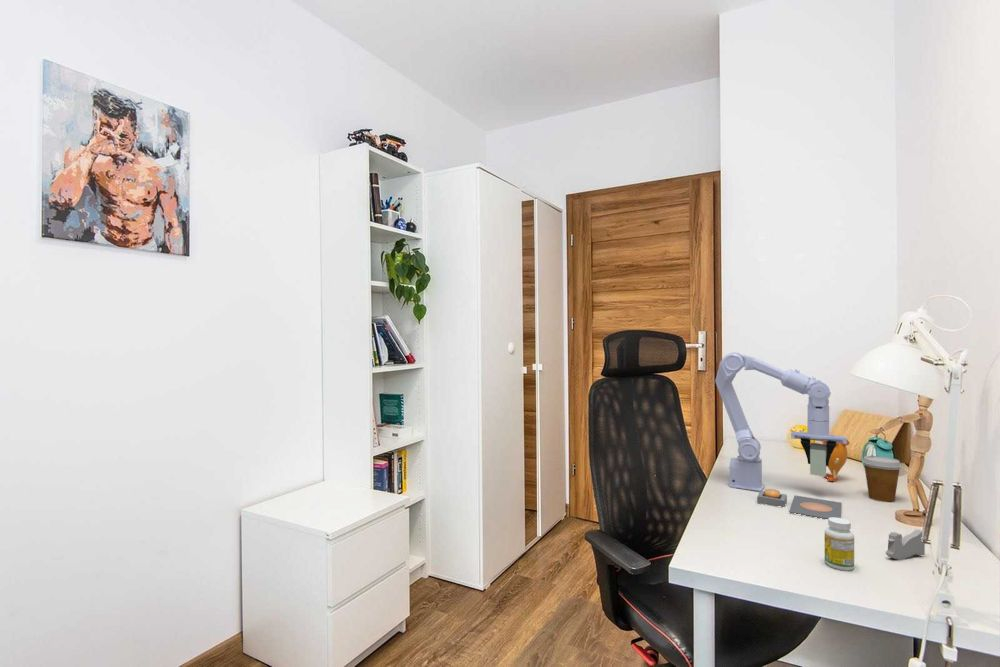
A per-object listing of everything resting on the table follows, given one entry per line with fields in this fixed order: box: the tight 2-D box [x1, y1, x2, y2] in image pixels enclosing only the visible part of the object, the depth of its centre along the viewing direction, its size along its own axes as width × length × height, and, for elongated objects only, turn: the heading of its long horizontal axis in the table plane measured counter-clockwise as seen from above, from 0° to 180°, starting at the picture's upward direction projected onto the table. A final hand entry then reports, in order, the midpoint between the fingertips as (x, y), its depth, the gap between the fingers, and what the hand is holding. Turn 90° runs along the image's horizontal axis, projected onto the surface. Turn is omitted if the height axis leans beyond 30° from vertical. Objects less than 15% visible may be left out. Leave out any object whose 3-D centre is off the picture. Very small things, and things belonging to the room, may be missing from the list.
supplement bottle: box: [824, 517, 855, 571], centre depth 109 cm, size 5×5×10 cm
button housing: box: [756, 490, 788, 508], centre depth 151 cm, size 7×7×2 cm
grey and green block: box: [809, 442, 827, 477], centre depth 157 cm, size 4×4×9 cm
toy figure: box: [821, 439, 850, 482], centre depth 175 cm, size 12×8×15 cm, turn 159°
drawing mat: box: [788, 494, 842, 520], centre depth 146 cm, size 12×18×1 cm, turn 146°
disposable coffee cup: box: [862, 455, 902, 503], centre depth 155 cm, size 10×10×12 cm
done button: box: [764, 488, 781, 499], centre depth 151 cm, size 4×4×2 cm
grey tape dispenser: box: [885, 529, 926, 561], centre depth 113 cm, size 6×1×10 cm
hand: (818, 464), depth 157 cm, fingers closed on grey and green block, 4 cm apart
